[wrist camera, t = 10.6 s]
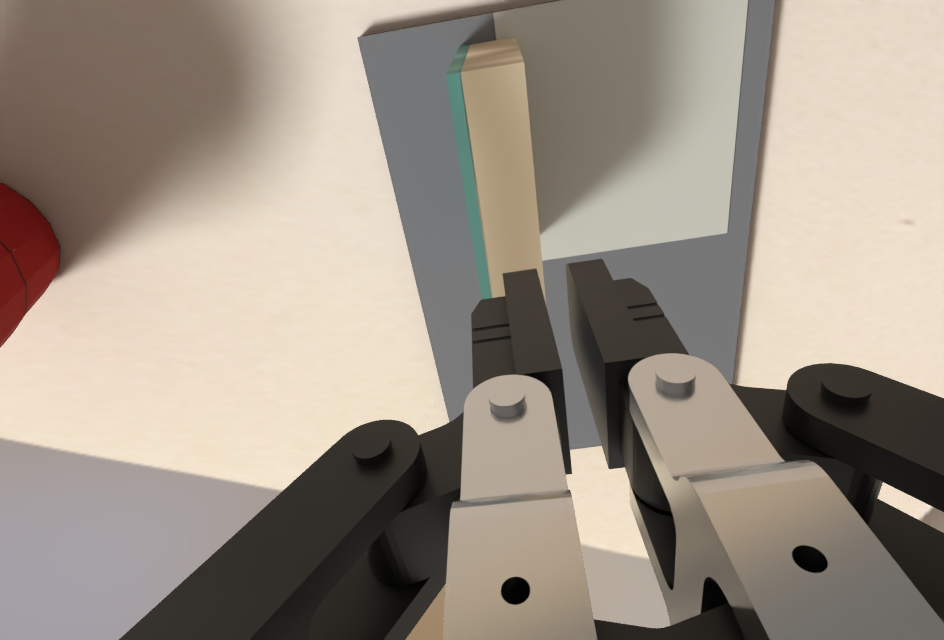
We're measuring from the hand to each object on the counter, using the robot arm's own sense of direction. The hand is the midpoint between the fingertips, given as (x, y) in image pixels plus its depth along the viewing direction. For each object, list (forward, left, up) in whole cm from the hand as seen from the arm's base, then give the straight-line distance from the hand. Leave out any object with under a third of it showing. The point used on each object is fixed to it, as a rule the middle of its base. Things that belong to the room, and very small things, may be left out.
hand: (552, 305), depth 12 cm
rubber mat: (-2, +6, -13) cm, 15 cm away
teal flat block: (0, 0, -12) cm, 12 cm away
